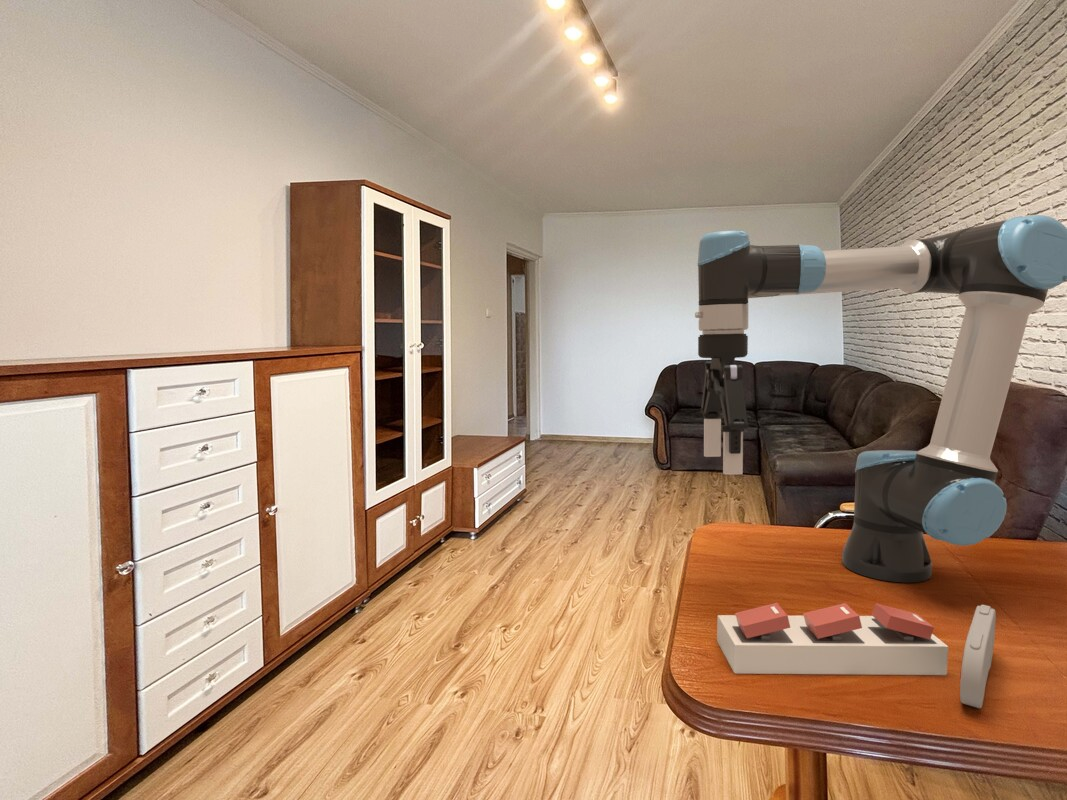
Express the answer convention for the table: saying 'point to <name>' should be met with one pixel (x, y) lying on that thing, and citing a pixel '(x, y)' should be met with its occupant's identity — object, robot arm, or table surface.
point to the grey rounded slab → (977, 656)
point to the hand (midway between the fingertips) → (721, 464)
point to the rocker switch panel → (831, 650)
